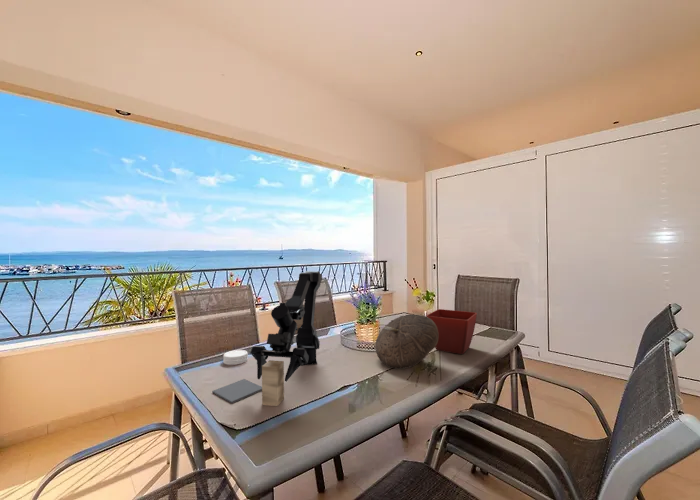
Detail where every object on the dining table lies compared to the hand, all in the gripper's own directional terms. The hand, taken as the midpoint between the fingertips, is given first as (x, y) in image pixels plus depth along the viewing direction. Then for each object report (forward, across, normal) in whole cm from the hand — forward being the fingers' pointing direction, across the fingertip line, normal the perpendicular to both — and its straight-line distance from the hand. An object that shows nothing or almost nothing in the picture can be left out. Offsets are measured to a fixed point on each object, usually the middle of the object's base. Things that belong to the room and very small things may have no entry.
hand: (271, 379), depth 94 cm
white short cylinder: (-17, -32, +28) cm, 46 cm away
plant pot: (-40, +63, +50) cm, 90 cm away
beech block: (+4, 0, +6) cm, 7 cm away
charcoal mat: (+1, -15, +9) cm, 17 cm away
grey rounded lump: (-26, +41, +36) cm, 60 cm away
